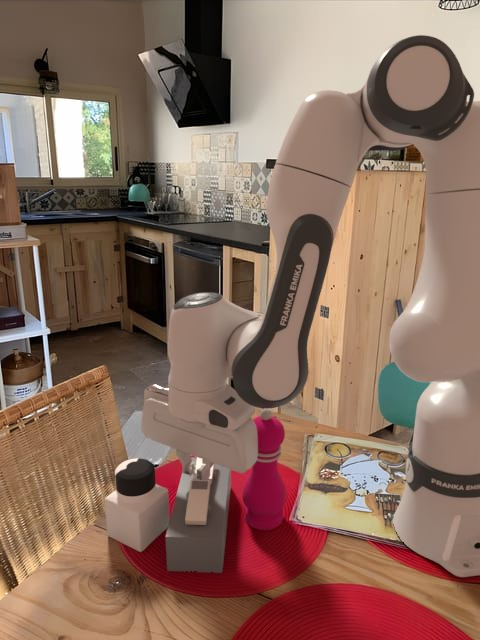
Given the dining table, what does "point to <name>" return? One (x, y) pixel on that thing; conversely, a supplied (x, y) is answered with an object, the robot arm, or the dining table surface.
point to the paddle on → (197, 502)
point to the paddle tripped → (198, 465)
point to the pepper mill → (266, 476)
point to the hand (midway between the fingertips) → (196, 475)
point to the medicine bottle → (136, 505)
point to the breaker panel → (199, 527)
